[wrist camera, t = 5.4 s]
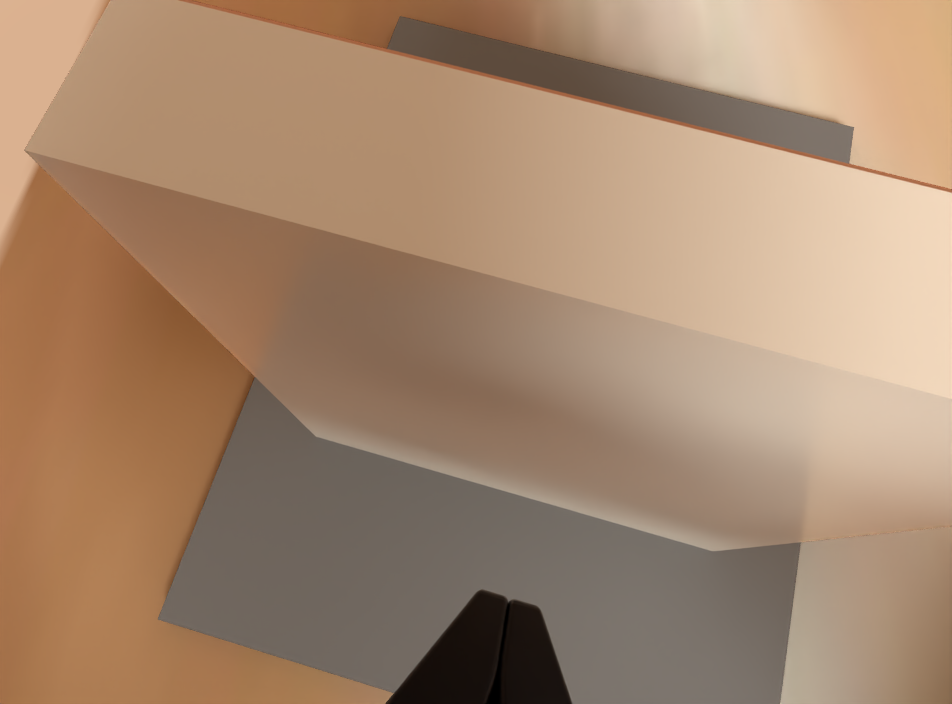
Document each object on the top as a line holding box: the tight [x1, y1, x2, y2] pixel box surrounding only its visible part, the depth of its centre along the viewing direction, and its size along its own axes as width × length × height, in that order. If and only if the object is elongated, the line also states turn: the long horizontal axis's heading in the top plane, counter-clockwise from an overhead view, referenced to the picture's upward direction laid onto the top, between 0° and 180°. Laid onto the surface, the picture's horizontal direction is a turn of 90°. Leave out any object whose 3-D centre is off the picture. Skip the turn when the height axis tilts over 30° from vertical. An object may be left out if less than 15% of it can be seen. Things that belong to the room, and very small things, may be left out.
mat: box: [158, 16, 854, 704], centre depth 18 cm, size 18×14×1 cm
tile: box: [25, 0, 952, 551], centre depth 11 cm, size 2×10×12 cm, turn 74°
